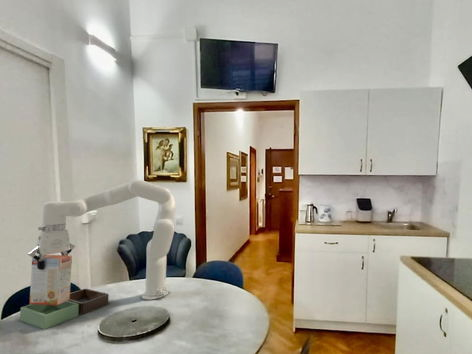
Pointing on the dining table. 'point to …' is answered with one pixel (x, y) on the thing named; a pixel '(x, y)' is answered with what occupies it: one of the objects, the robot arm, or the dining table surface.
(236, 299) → the dining table surface
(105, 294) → the crate
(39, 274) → the cracker box
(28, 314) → the bin
